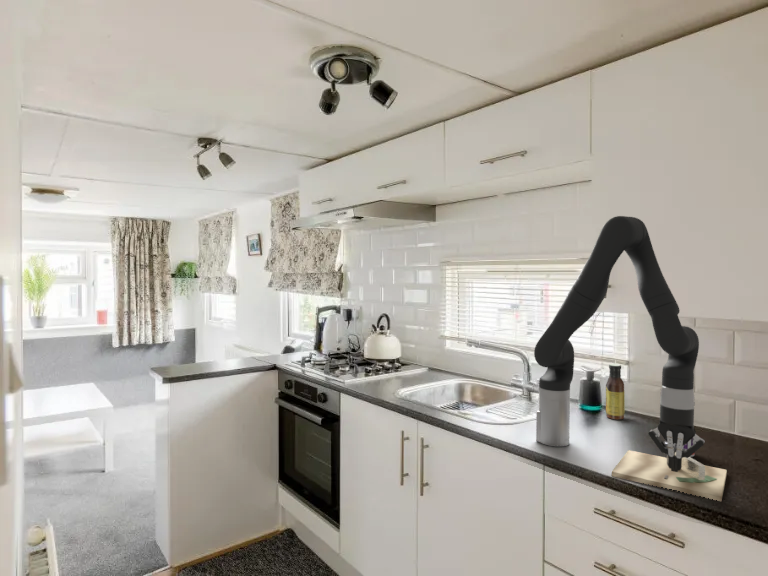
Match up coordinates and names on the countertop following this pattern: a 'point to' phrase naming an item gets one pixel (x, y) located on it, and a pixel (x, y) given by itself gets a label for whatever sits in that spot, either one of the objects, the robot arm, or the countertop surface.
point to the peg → (691, 466)
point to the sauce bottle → (615, 393)
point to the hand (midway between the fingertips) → (675, 470)
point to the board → (669, 475)
